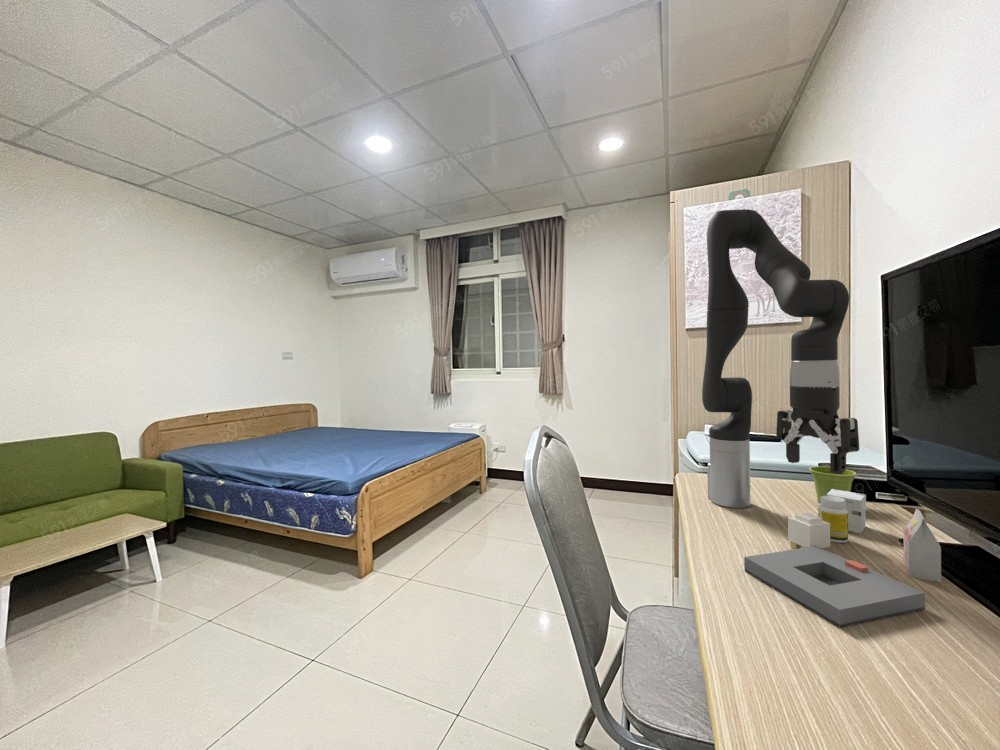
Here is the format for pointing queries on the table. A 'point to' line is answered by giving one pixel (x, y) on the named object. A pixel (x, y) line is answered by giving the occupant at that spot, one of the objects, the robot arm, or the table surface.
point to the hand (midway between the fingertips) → (814, 467)
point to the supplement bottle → (835, 517)
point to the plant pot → (831, 480)
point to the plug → (808, 531)
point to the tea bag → (921, 549)
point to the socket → (834, 585)
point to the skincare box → (853, 509)
